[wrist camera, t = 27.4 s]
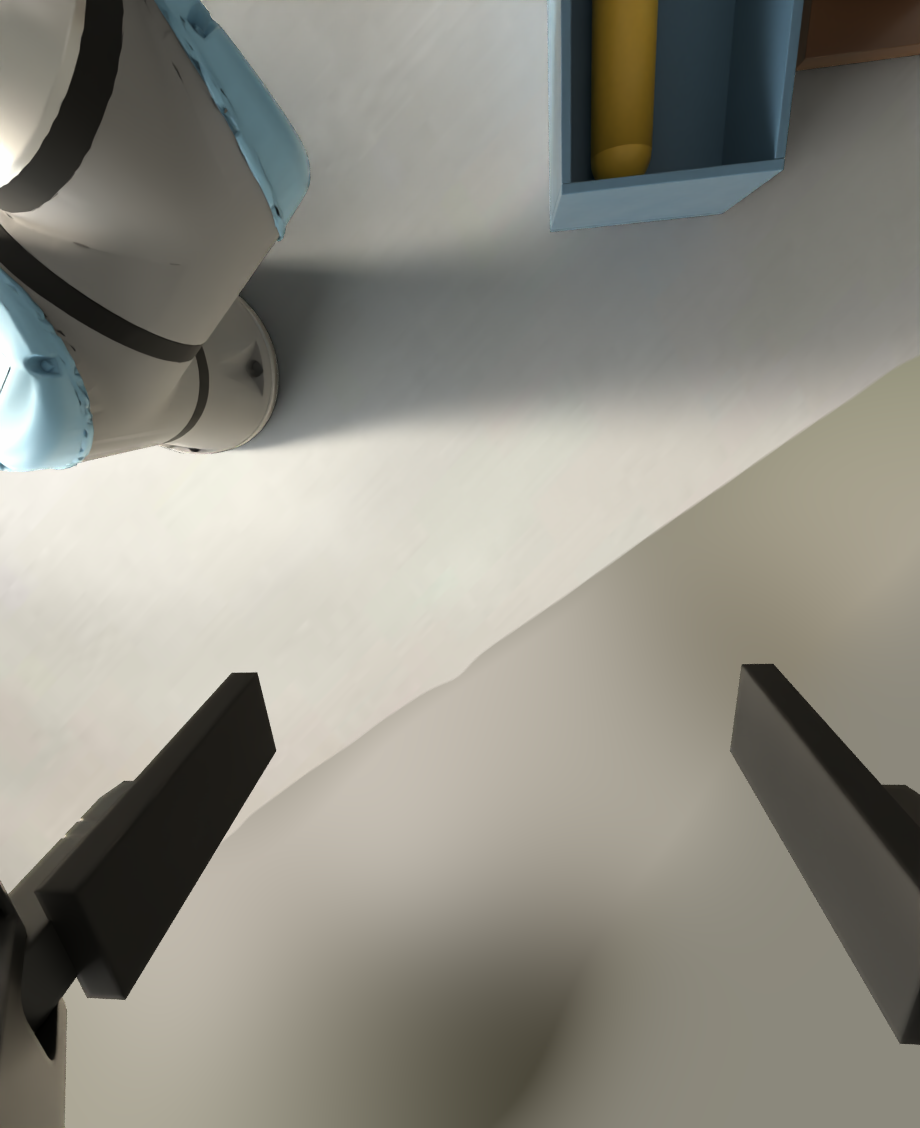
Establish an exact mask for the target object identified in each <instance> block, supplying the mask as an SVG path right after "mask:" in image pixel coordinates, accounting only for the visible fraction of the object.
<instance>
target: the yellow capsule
mask: <svg viewBox="0 0 920 1128" xmlns="http://www.w3.org/2000/svg"><path fill="white" fill-rule="evenodd" d="M657 18H658V0H592V62H591V170H592V174H593V177H594V179H595V180H600V179H609V178H617V177H626V176H635V175H643V174H645V172H646V170H647V168H648V166H649V163H650V159H651V152H652V136H653V112H654V89H655V65H656V42H657Z"/></svg>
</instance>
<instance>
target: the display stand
mask: <svg viewBox="0 0 920 1128" xmlns="http://www.w3.org/2000/svg"><path fill="white" fill-rule="evenodd" d="M913 55H920V0H804V4H803V12H802V20H801V29H800V37H799V45H798V54H797V62H796V70H795V71H800V70H807V69H815V68H822V67H830V66H837V65H845V64H852V63H860V62H868V61H875V60H883V59H890V58H898V57H905V56H913Z"/></svg>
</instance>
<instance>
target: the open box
mask: <svg viewBox="0 0 920 1128" xmlns="http://www.w3.org/2000/svg"><path fill="white" fill-rule="evenodd" d="M803 4H804V0H658V18H657V42H656V65H655V89H654V112H653V136H652V152H651V159H650V163H649V166H648V168H647V170H646V172H645V174H643V175H635V176H626V177H617V178H609V179H600V180H595V179H594V177H593V174H592V170H591V62H592V0H548V87H549V176H550V232H556V231H566V230H575V229H584V228H594V227H603V226H613V225H622V224H631V223H641V222H650V221H660V220H669V219H679V218H688V217H697V216H707V215H716V214H723V213H724V212H725V211H727V210H728V209H730V208H731V207H732V206H734V205H735V204H736V203H738V202H739V201H741V200H742V199H743V198H745V197H746V196H748V195H749V194H750V193H752V192H753V191H754V190H756V189H757V188H759V187H760V186H761V185H763V184H764V183H766V182H767V181H768V180H770V179H771V178H772V177H774V176H775V175H777V174H778V173H779V172H781V171H782V170H783V169H784V162H785V154H786V145H787V137H788V129H789V120H790V112H791V104H792V95H793V87H794V79H795V70H796V62H797V54H798V45H799V37H800V29H801V20H802V12H803Z"/></svg>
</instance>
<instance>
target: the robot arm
mask: <svg viewBox="0 0 920 1128" xmlns="http://www.w3.org/2000/svg"><path fill="white" fill-rule="evenodd" d="M309 184H310V164H309V160H308V155H307V152H306V150H305V148H304V146H303V143H302V141H301V140H300V138H299V136H298V134H297V133H296V131H295V129H294V128H293V126H292V125H291V123H290V122H289V120H288V119H287V117H286V115H285V114H284V112H283V111H282V109H281V108H280V106H279V105H278V104H277V102H276V101H275V99H274V98H273V96H272V95H271V94H270V92H269V91H268V89H267V88H266V86H265V85H264V84H263V82H262V81H261V79H260V78H259V77H258V75H257V74H256V72H255V71H254V70H253V68H252V67H251V66H250V64H249V63H248V61H247V60H246V59H245V57H244V56H243V55H242V53H241V52H240V51H239V49H238V48H237V47H236V45H235V44H234V43H233V42H232V40H231V39H230V38H229V36H228V35H227V34H226V32H225V31H224V30H223V29H222V28H221V27H220V25H219V24H218V23H216V22H215V21H214V20H213V19H212V18H211V16H210V13H209V11H208V10H207V9H206V8H205V6H204V5H203V4H202V3H201V1H200V0H0V470H4V471H12V472H25V471H34V470H41V469H50V468H51V469H66V468H70V467H72V466H76V465H77V463H81V462H84V461H89V460H93V459H98V458H102V457H107V456H111V455H116V454H120V453H124V452H129V451H133V450H138V449H142V448H147V447H151V446H155V445H157V446H158V445H160V446H161V447H162V446H163V447H164V448H165V447H167V449H168V448H172V449H174V450H178V451H182V452H187V453H194V454H212V453H219V452H223V451H227V450H230V449H234V448H236V447H239V446H241V445H243V444H245V443H246V442H248V441H249V440H251V439H252V438H253V437H255V436H256V435H257V434H258V433H259V432H260V431H261V430H262V428H263V427H264V426H265V424H266V423H267V421H268V419H269V418H270V416H271V414H272V411H273V409H274V406H275V403H276V398H277V393H278V383H279V375H278V365H277V359H276V355H275V351H274V348H273V345H272V342H271V339H270V337H269V335H268V332H267V331H266V329H265V327H264V325H263V323H262V322H261V320H260V319H259V317H258V316H257V314H256V313H255V312H254V311H253V309H252V308H251V307H250V306H249V305H248V304H247V303H246V302H245V301H244V300H243V299H242V298H241V297H240V296H239V293H240V292H241V291H242V289H243V288H244V286H245V285H246V283H247V282H248V280H249V279H250V278H251V276H252V275H253V273H254V272H255V270H256V269H257V268H258V266H259V265H260V263H261V262H262V260H263V259H264V258H265V256H266V255H267V253H268V252H269V250H270V249H271V247H272V246H273V245H274V243H275V242H276V241H281V240H282V239H283V237H284V233H285V229H286V228H285V226H286V225H287V223H288V222H289V220H290V218H291V217H292V215H293V214H294V212H295V210H296V209H297V207H298V206H299V204H300V202H301V201H302V199H303V197H304V196H305V194H306V192H307V190H308V187H309ZM170 450H171V449H170ZM174 450H173V451H174ZM176 452H177V451H176ZM179 453H180V452H179ZM183 454H184V453H183ZM275 752H276V747H275V743H274V739H273V735H272V731H271V727H270V723H269V719H268V715H267V711H266V706H265V702H264V698H263V694H262V690H261V686H260V682H259V678H258V674H257V672H256V673H231V674H230V675H229V677H228V678H227V679H226V680H225V681H224V682H223V683H222V684H221V685H220V686H219V688H218V689H217V690H216V691H215V692H214V693H213V694H212V695H211V696H210V697H209V699H208V700H207V701H206V702H205V703H204V704H203V705H202V706H201V707H200V709H199V710H198V711H197V712H196V713H195V714H194V715H193V716H192V717H191V718H190V720H189V721H188V722H187V723H186V724H185V725H184V726H183V727H182V728H181V729H180V731H179V732H178V733H177V734H176V735H175V736H174V737H173V738H172V739H171V740H170V742H169V743H168V744H167V745H166V746H165V747H164V748H163V749H162V750H161V751H160V753H159V754H158V755H157V756H156V757H155V758H154V759H153V760H152V761H151V762H150V764H149V765H148V766H147V767H146V768H145V769H144V770H143V771H142V772H141V774H140V775H139V776H138V777H137V778H136V779H135V780H134V781H123V782H122V783H121V784H119V785H118V786H116V787H115V788H113V789H112V790H111V791H109V792H108V793H106V794H105V795H103V796H102V797H101V798H99V799H98V800H97V802H96V803H95V804H94V805H93V806H92V807H91V808H90V809H89V810H88V811H87V812H86V813H85V814H84V815H83V816H82V817H81V821H80V822H77V823H76V824H75V825H74V826H73V827H72V828H71V829H70V830H69V831H68V832H67V833H66V834H65V835H66V836H65V838H64V839H62V838H61V839H60V840H59V841H58V843H57V844H56V845H55V846H54V847H53V848H52V849H51V850H50V851H49V852H48V853H47V854H46V855H45V856H44V857H43V858H42V859H41V860H40V861H39V863H38V864H37V865H36V866H35V867H34V868H33V869H32V870H31V871H30V872H29V873H28V874H27V875H26V876H25V877H24V878H23V879H22V880H21V881H20V883H19V884H18V885H17V886H16V887H15V888H14V889H13V890H12V891H11V892H10V893H9V894H7V892H6V890H5V888H4V886H3V885H2V883H1V881H0V1128H65V1080H66V1030H67V1009H66V1006H65V1002H64V1000H63V998H62V997H63V995H64V994H65V992H66V991H67V989H68V988H69V987H70V985H71V984H72V982H73V981H74V980H75V978H76V977H77V979H78V981H79V982H80V985H81V987H82V989H83V990H84V992H85V995H86V996H87V998H102V999H119V1000H125V999H126V998H127V996H128V995H129V993H130V991H131V989H132V988H133V986H134V985H135V983H136V981H137V980H138V978H139V976H140V975H141V973H142V971H143V970H144V968H145V966H146V965H147V963H148V962H149V960H150V958H151V957H152V955H153V953H154V952H155V950H156V948H157V947H158V945H159V943H160V942H161V940H162V938H163V937H164V935H165V933H166V932H167V930H168V928H169V927H170V925H171V923H172V922H173V920H174V919H175V917H176V915H177V914H178V912H179V910H180V909H181V907H182V905H183V904H184V902H185V900H186V899H187V897H188V896H189V894H190V892H191V891H192V889H193V887H194V886H195V884H196V882H197V881H198V879H199V877H200V876H201V874H202V872H203V871H204V869H205V868H206V866H207V864H208V862H209V861H210V859H211V858H212V856H213V854H214V853H215V851H216V849H217V848H218V846H219V844H220V843H221V841H222V839H223V838H224V836H225V835H226V833H227V831H228V830H229V828H230V826H231V825H232V823H233V821H234V820H235V818H236V816H237V815H238V813H239V811H240V810H241V808H242V807H243V805H244V803H245V802H246V800H247V798H248V797H249V795H250V793H251V792H252V790H253V788H254V787H255V785H256V783H257V782H258V780H259V778H260V777H261V775H262V774H263V772H264V770H265V769H266V767H267V765H268V764H269V762H270V760H271V759H272V757H273V755H274V754H275ZM730 752H731V753H732V755H733V757H734V758H735V760H736V762H737V764H738V765H739V767H740V769H741V771H742V772H743V774H744V776H745V777H746V779H747V781H748V783H749V784H750V786H751V788H752V790H753V791H754V793H755V795H756V796H757V798H758V800H759V801H760V803H761V805H762V807H763V808H764V810H765V812H766V814H767V815H768V817H769V819H770V820H771V822H772V824H773V826H774V827H775V829H776V831H777V833H778V834H779V836H780V838H781V840H782V841H783V842H784V845H785V846H786V848H787V850H788V852H789V853H790V855H791V857H792V858H793V860H794V862H795V864H796V865H797V867H798V869H799V870H800V872H801V874H802V876H803V877H804V879H805V881H806V883H807V884H808V886H809V888H810V889H811V891H812V893H813V895H814V896H815V898H816V900H817V902H818V903H819V905H820V907H821V908H822V910H823V912H824V914H825V915H826V917H827V919H828V920H829V922H830V924H831V926H832V927H833V929H834V931H835V933H836V934H837V936H838V938H839V939H840V941H841V943H842V944H843V946H844V948H845V950H846V952H847V953H848V955H849V957H850V958H851V960H852V962H853V963H854V965H855V967H856V969H857V971H858V972H859V974H860V976H861V977H862V979H863V981H864V983H865V984H866V986H867V988H868V989H869V991H870V993H871V995H872V996H873V998H874V1000H875V1002H876V1003H877V1005H878V1007H879V1008H880V1010H881V1012H882V1013H883V1015H884V1017H885V1019H886V1020H887V1022H888V1024H889V1026H890V1027H891V1029H892V1031H893V1032H894V1034H895V1036H896V1037H897V1039H898V1041H899V1043H900V1044H917V1045H920V794H918V793H917V792H915V791H914V790H912V789H911V788H909V787H908V786H906V785H881V784H880V783H879V781H878V780H877V779H876V778H875V777H874V776H873V775H872V774H871V772H869V770H868V769H867V768H866V767H865V766H864V765H863V764H862V763H861V761H860V760H859V759H858V758H857V757H856V756H855V755H854V754H853V752H852V751H851V750H850V749H849V748H848V747H847V746H846V745H845V744H844V743H843V741H842V740H841V739H840V738H839V737H838V736H837V735H836V734H835V732H834V731H833V730H832V729H831V728H830V727H829V726H828V725H827V723H826V722H825V721H824V720H823V719H822V718H821V717H820V716H819V714H818V713H817V712H816V711H815V710H814V709H813V708H812V707H811V706H810V704H809V703H808V702H807V701H806V700H805V699H804V698H803V697H802V696H801V695H800V694H799V692H798V691H797V690H796V689H795V688H794V687H793V685H792V684H791V683H790V682H789V681H788V680H787V679H786V678H785V677H784V675H783V674H782V673H781V672H780V671H779V670H778V669H777V668H776V666H775V665H774V664H742V666H741V673H740V681H739V688H738V696H737V704H736V711H735V718H734V726H733V734H732V741H731V748H730Z"/></svg>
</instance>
